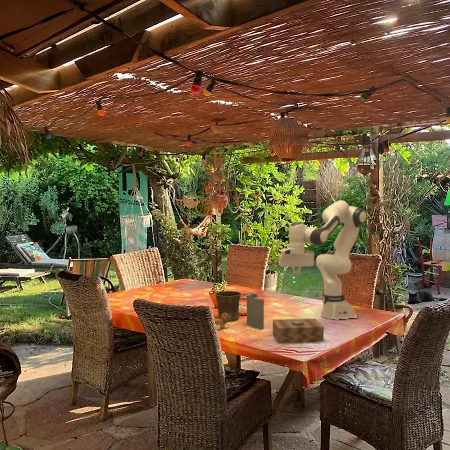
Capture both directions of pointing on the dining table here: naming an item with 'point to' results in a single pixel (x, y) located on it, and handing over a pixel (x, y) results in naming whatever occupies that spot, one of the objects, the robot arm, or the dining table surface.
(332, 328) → the dining table surface
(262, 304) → the hip flask
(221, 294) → the plant pot
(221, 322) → the lion figurine
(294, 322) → the knob
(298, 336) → the block
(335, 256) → the robot arm
